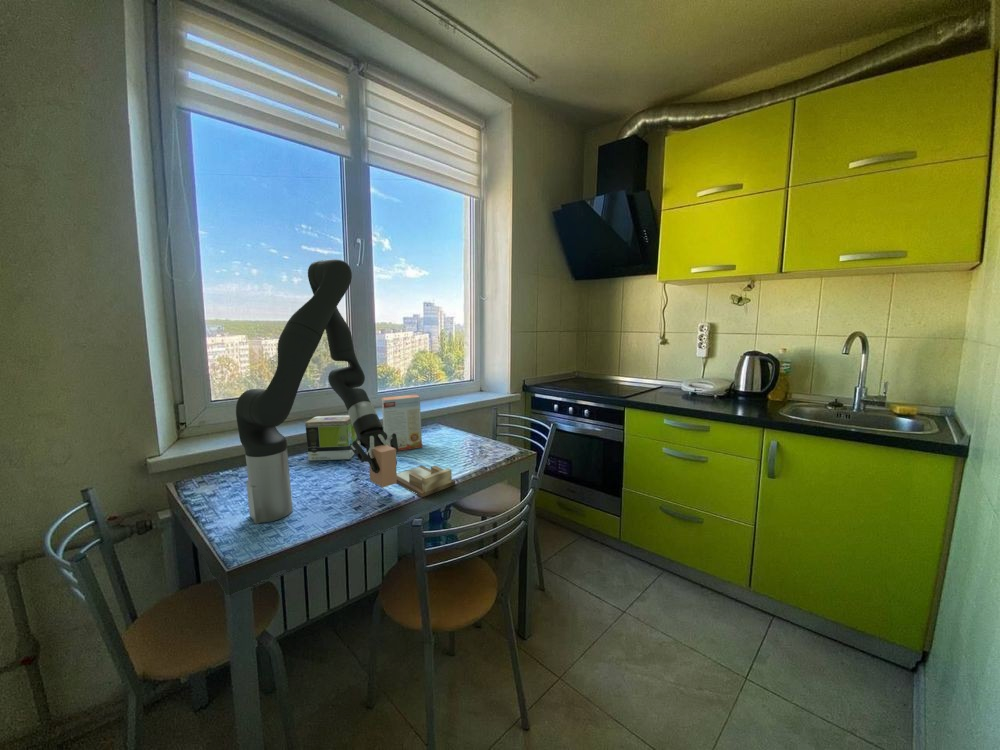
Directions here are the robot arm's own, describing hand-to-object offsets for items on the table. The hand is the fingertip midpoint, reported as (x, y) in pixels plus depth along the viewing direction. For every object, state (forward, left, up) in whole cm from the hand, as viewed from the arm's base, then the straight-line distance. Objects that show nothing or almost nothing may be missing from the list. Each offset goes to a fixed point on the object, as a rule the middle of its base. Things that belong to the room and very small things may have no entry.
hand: (386, 469), depth 108 cm
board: (+13, +3, -9) cm, 16 cm away
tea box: (+3, +47, -9) cm, 48 cm away
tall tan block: (0, +2, -4) cm, 5 cm away
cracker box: (+26, +36, -9) cm, 45 cm away
